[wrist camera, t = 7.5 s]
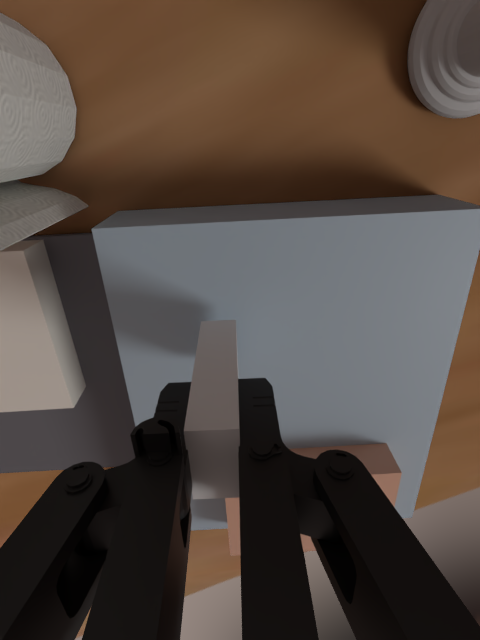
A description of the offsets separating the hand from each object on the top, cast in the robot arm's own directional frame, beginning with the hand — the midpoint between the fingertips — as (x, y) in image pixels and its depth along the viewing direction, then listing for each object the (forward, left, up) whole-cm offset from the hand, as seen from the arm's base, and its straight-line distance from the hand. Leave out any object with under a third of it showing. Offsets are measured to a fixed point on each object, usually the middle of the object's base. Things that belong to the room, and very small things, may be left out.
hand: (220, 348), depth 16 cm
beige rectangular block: (+12, 0, -3) cm, 12 cm away
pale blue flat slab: (-3, +4, -5) cm, 7 cm away
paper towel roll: (+9, -9, -5) cm, 14 cm away
